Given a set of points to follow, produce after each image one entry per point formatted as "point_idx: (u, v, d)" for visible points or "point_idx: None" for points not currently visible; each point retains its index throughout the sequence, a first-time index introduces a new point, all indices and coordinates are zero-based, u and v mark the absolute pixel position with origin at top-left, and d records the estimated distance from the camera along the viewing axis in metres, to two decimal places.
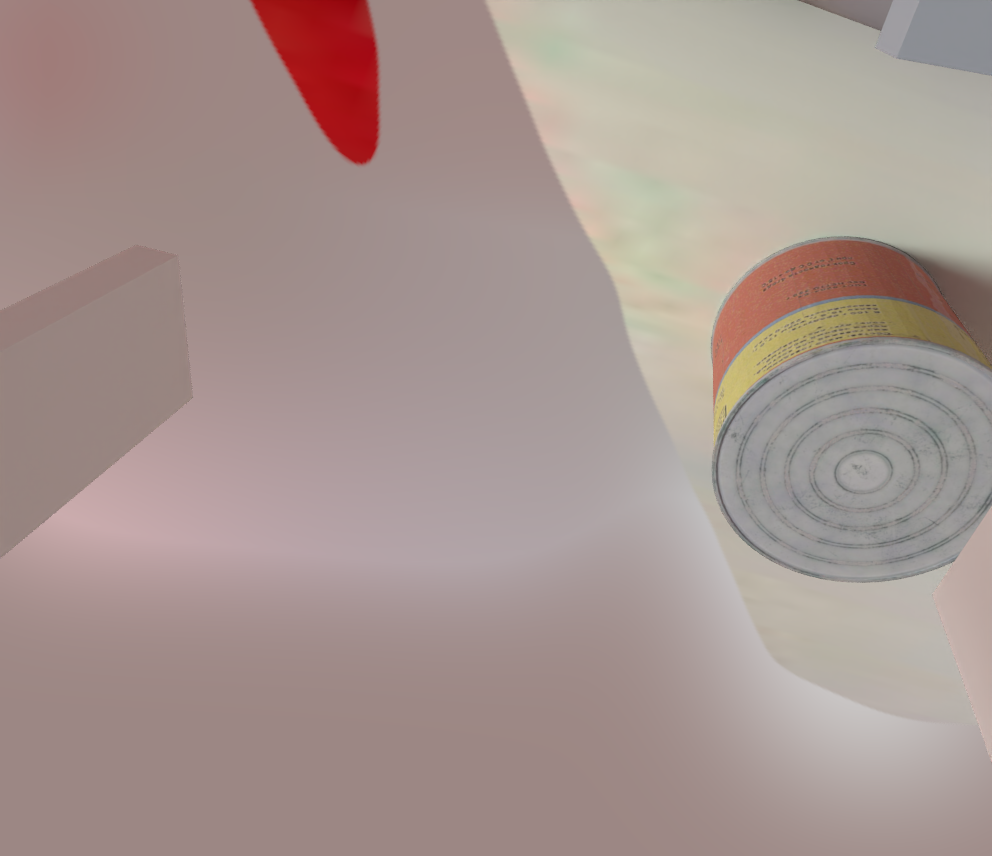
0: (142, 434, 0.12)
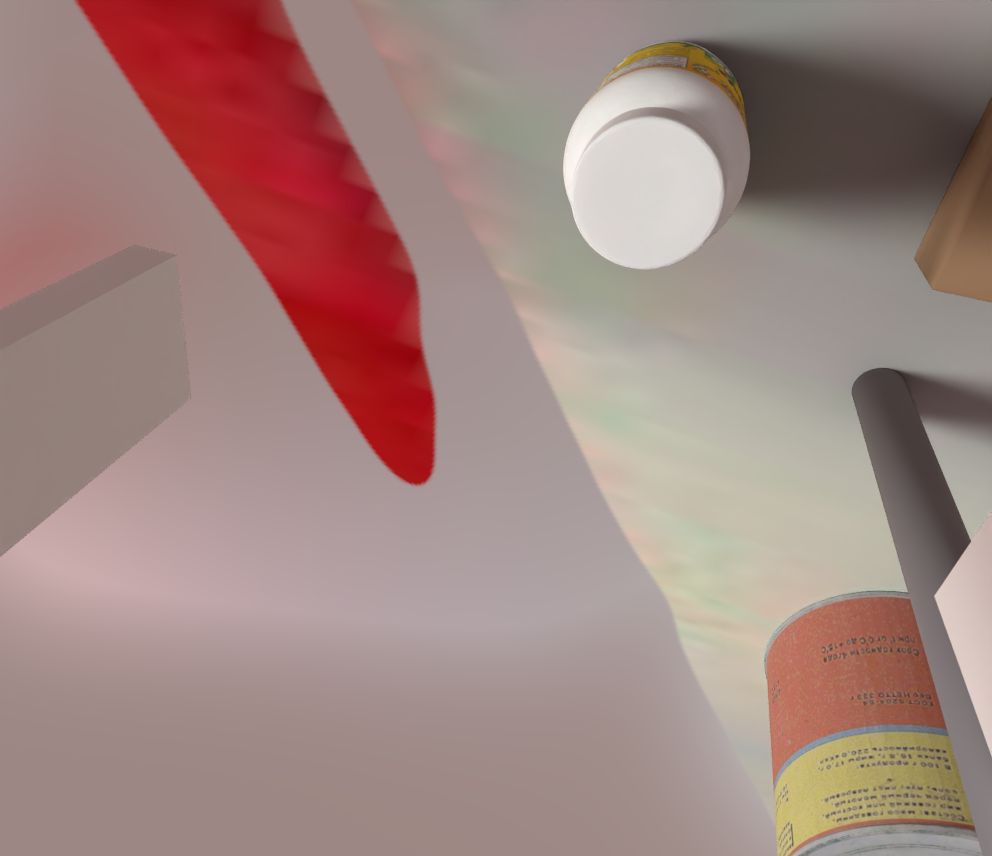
0: (140, 434, 0.12)
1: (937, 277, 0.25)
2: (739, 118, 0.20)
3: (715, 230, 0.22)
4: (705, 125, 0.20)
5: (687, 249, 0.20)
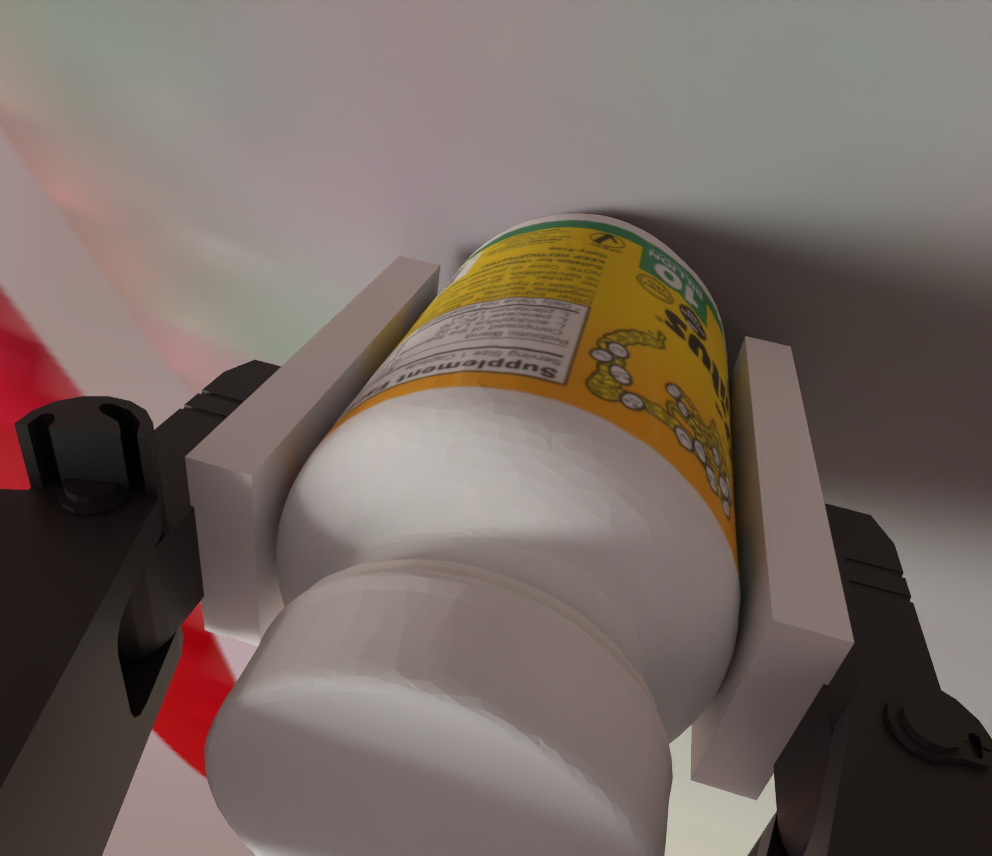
0: None
1: None
2: (710, 537, 0.07)
3: None
4: (611, 578, 0.07)
5: None
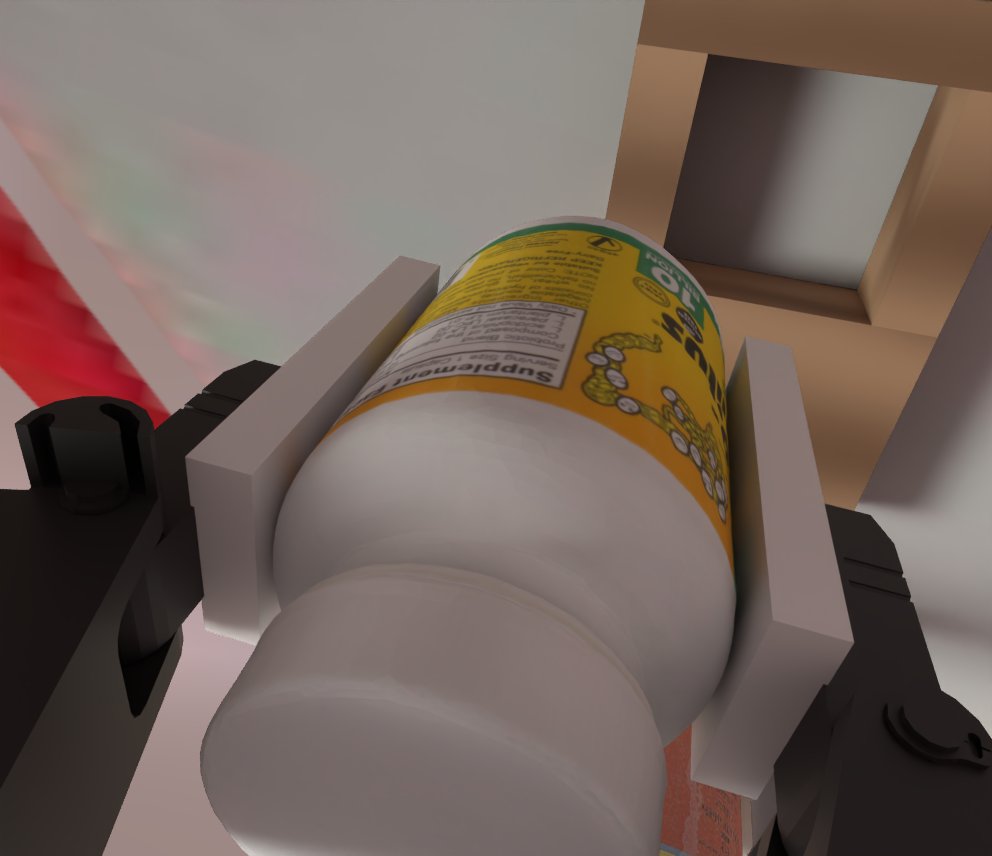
0: None
1: None
2: (705, 541, 0.07)
3: None
4: (606, 582, 0.07)
5: None
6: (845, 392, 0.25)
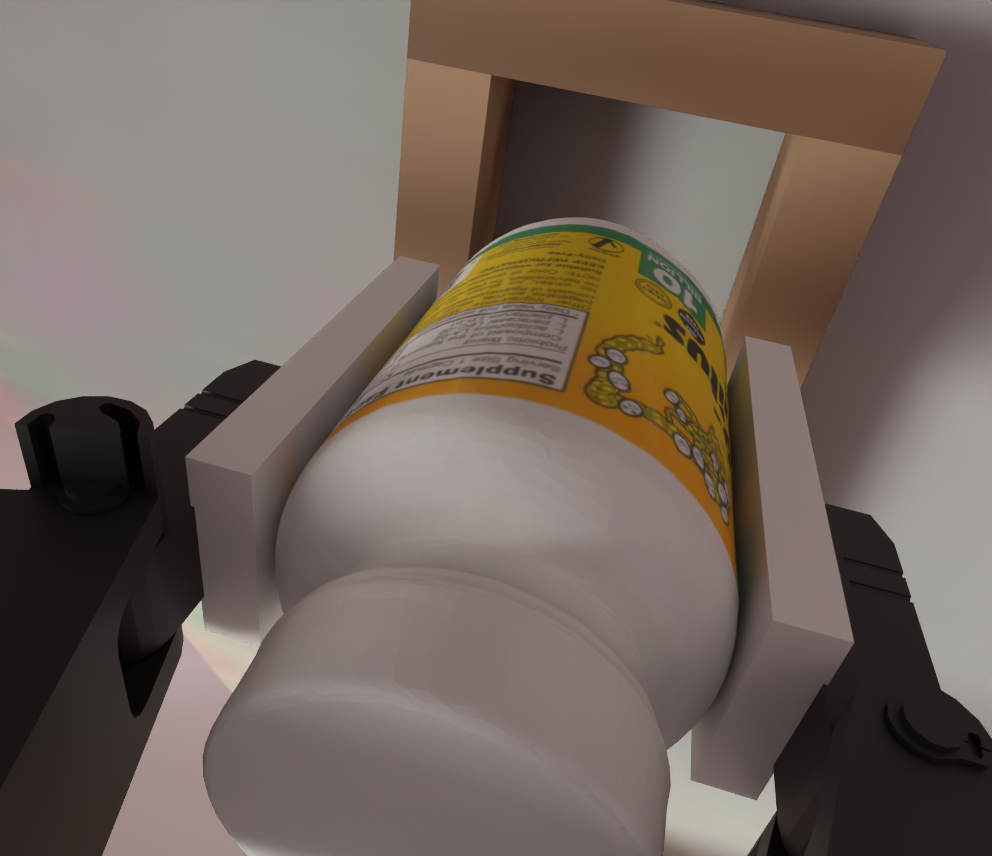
0: None
1: None
2: (708, 544, 0.07)
3: None
4: (609, 585, 0.07)
5: None
6: None
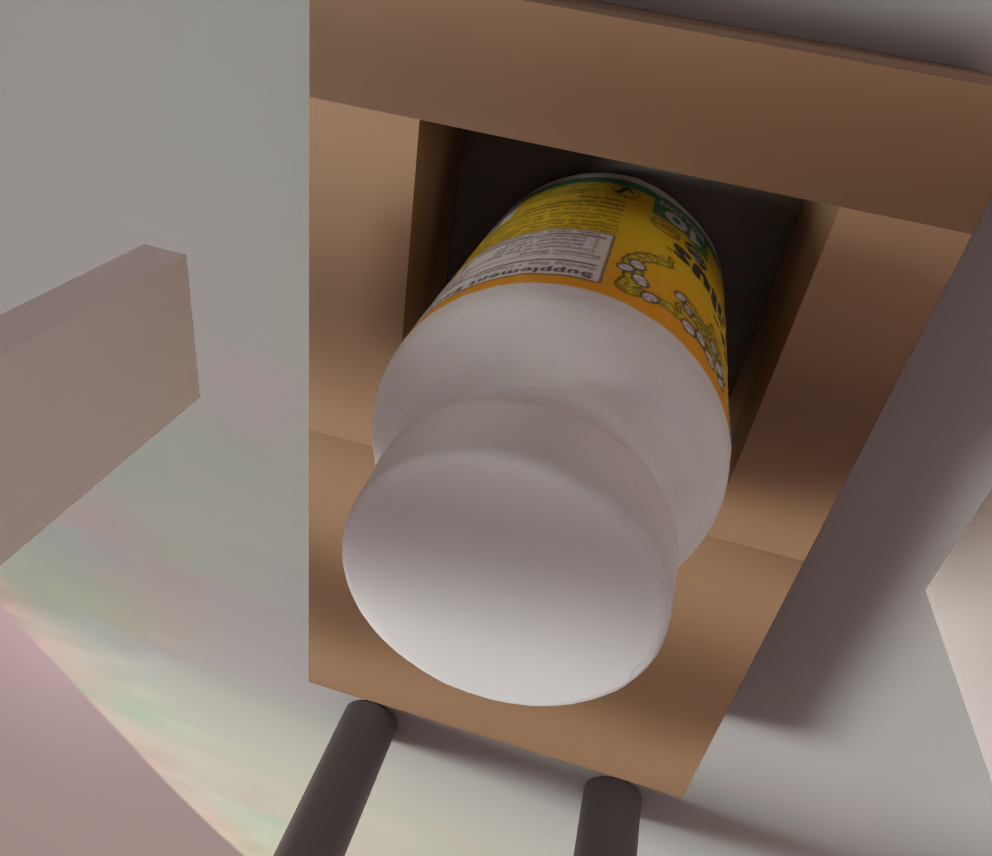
0: (150, 433, 0.12)
1: None
2: (708, 394, 0.10)
3: None
4: (634, 418, 0.09)
5: (593, 688, 0.09)
6: (677, 616, 0.17)
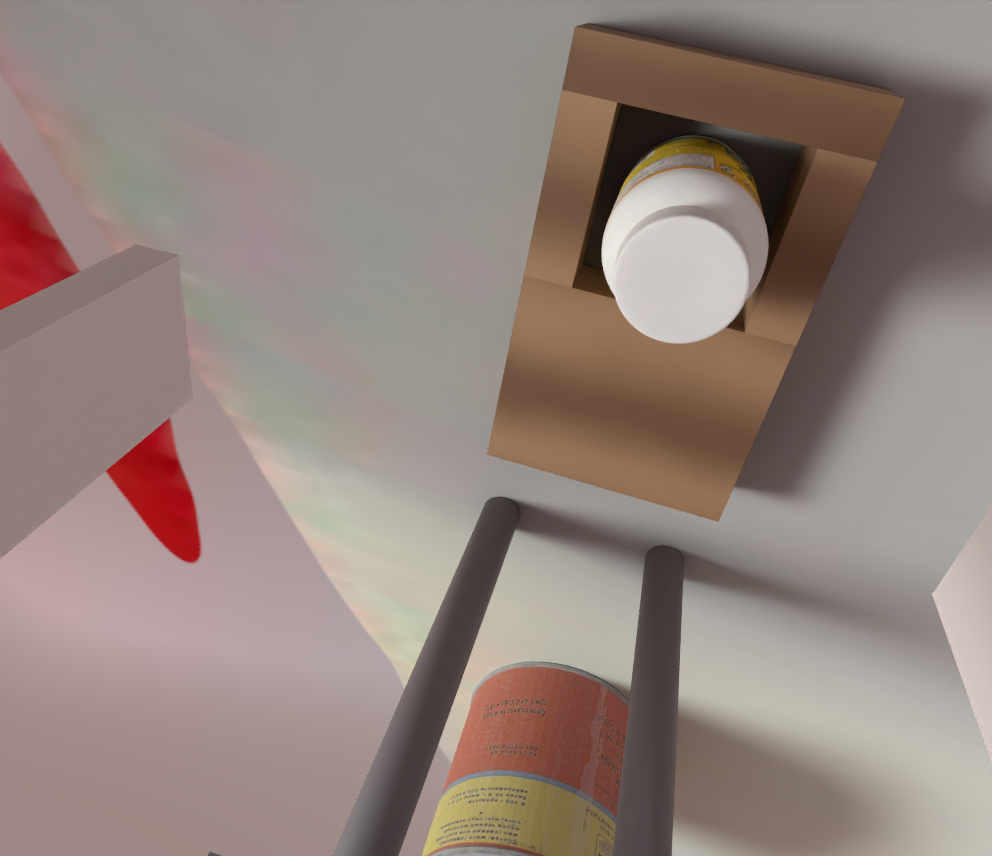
0: (142, 434, 0.12)
1: (489, 446, 0.35)
2: (761, 215, 0.23)
3: None
4: (732, 221, 0.23)
5: (714, 328, 0.22)
6: (725, 387, 0.30)
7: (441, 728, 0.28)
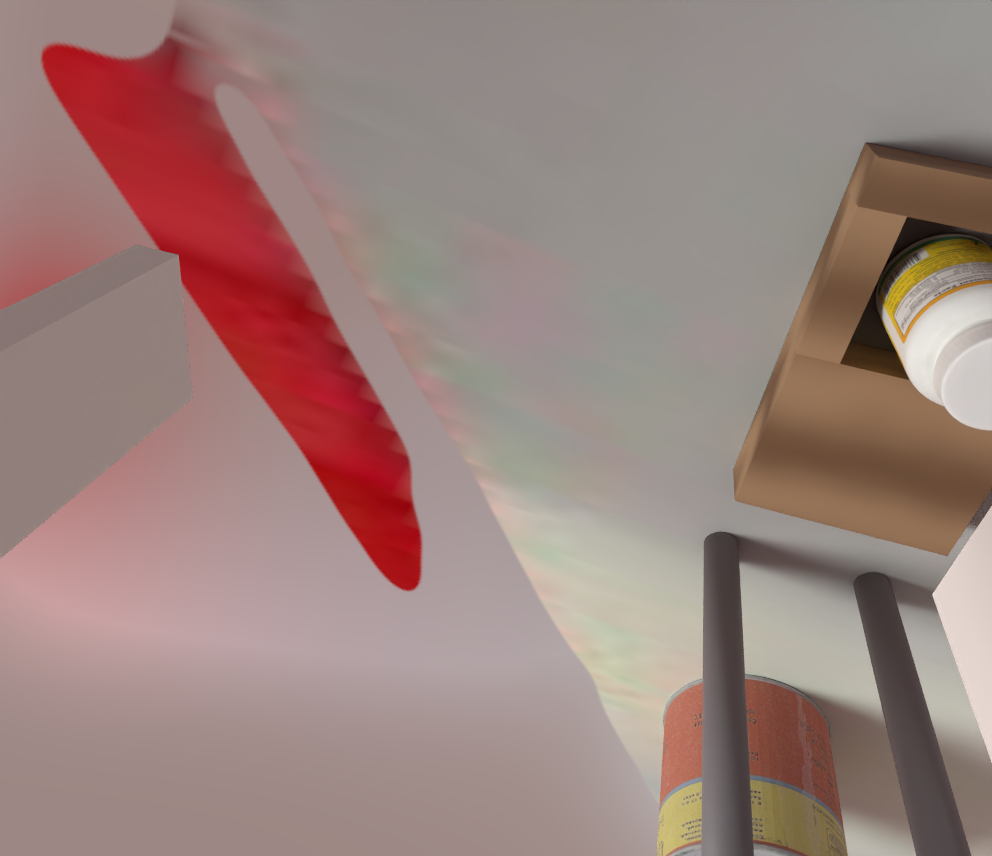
0: (142, 434, 0.12)
1: (737, 493, 0.39)
2: None
3: None
4: None
5: None
6: (970, 445, 0.35)
7: None
